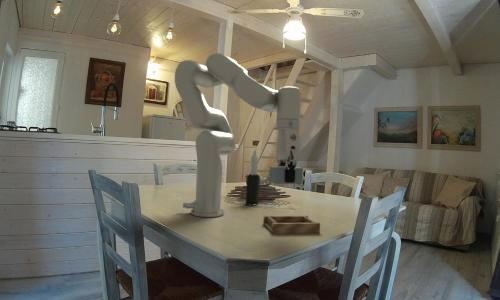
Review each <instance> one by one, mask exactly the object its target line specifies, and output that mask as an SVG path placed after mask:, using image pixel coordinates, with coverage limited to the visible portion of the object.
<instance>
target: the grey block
mask: <svg viewBox="0 0 500 300" xmlns="http://www.w3.org/2000/svg"><path fill="white" fill-rule="evenodd" d="M285 170H287V169H286V166H277V165H273V166H272V165H269V175H268V178H269V182H270V183H272V184H276V185H280V184H281V185H292V184H293V185H302V184H303V171H304V170H303V168H302V167H298V166H296V170H295V182H294V183H286V182H285Z"/></svg>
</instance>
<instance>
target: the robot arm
mask: <svg viewBox="0 0 500 300" xmlns="http://www.w3.org/2000/svg"><path fill="white" fill-rule="evenodd" d="M206 58H207V59H206V62H205V64H203V63H200V62H198V61H195V60H191V59H186V60H185V59H184V60H182V61H181V62H179V63H178V65H177V66H176V69H175V72H174V84H175V89H176V90H177V92H178V95H179V96H180V99H181V102H182V103H183V106H184V109H185V111H186V114H187V117H188V120H189V121H190V122H189V123H190V124H191V126H192V127H193V128H194V129H195V130H197V131H201V132H199V134H198V135H197V137H196V139H195V151H196V181H195V182H196V184H195V185H196V186H195V199H194V200H193V201H191V202H182V208H183V209H190V214H191V215H193V216H196V217H199V218H200V217H202V218H217V217H221V216H223V215H225V210H224V209H222V208H221V201H222V197H221V196H222V186H223V185H222V184H223V183H222V181H223V180H222V179H223V162H222V158H221V156H228V155H230V154H232V153H233V152H234V151H235V149H236V139H235V135H234V133H233V131H232V128H231V126H230V124H229V121H228V119H227V117H226V115H225V114H224V113H223V112H222V110H219V109H218V108H214V107H211V106H209V105H208V103H207V101H206V99H205V95H204V94H203V92H202V91H201V89H200V88H199V87H203V88H209V89H210V88H213V87H218V86H220V85H223V84H224V85H226V86H227V87H229V88H230V89H231V91H233V93H234V94H235V95H236V96H237V97H238V98H240V99H241V100H242V101H244V102H245V103H246V104H248V105H249V106H251V107H253V108H255V109H258V110H262V111H265V112H270V113H276V124H275V125H276V126H275V128H276V129H275V131H277V134H276V135H277V137H276V143H275V144H276V146H275V147H276V150H275V158H276V160H277V165H276V166H286V169H287V170H285V182H286V183H294V182H295V170H296V167H297V163H298V161H300V159H301V140H300V139H301V137H300V135H301V134H300V127H301V126H300V121H301V101H302V100H301V98H302V97H301V96H302V94H301V93H302V92H301V89H300V88H299V87H296V86H282V87H280V88H278V90H277V89H272V88H270V87H268V86H265V85H264V84H262V83H260V82H259V81H257V80H256V79H254V78H252V77H251V76H249V72H248V70H247V69H246V68H244V67H243V66H241V65H240V64H238V62H237V61H236V60H235V59H233V58H231V57H229V56H228V55H225V54H223V53H221V52H214V53H211V54H210V55H208V57H206ZM198 86H199V87H198Z"/></svg>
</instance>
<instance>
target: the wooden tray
mask: <svg viewBox="0 0 500 300" xmlns="http://www.w3.org/2000/svg"><path fill="white" fill-rule="evenodd" d="M262 225H263V226H264V227H265V228H266V229H267V230H268V231H269V232H270V233H271V234H272V235H273V234H274V235H275V234H277V235H278V234H310V233H311V234H319V233H321V231H320V230H321V222H316V221H314V220H312V219H311V218H309V215H263V223H262Z"/></svg>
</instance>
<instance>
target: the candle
mask: <svg viewBox="0 0 500 300" xmlns="http://www.w3.org/2000/svg"><path fill="white" fill-rule="evenodd" d="M250 159H251V160H250V161H251V162H250V173H249V174H248V175H247V176H246V193H245V194H246V195H245V205H248V204H257V205H259V201H260V200H259V199H260V185H261V184H260V181H261V176H260V175H259V174H258V159H259V157H258V155H257V149H254V150H253V154H252V155H251V158H250Z"/></svg>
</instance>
